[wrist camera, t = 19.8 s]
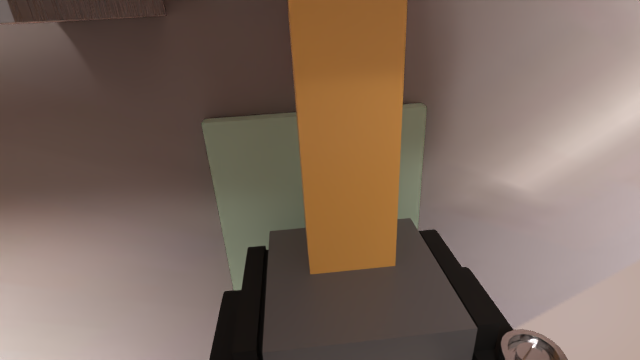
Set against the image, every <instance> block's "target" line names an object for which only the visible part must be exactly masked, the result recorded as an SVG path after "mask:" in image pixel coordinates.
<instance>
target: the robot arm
mask: <svg viewBox="0 0 640 360" xmlns="http://www.w3.org/2000/svg"><path fill="white" fill-rule="evenodd" d="M419 233H420V235H421V236H422V238H423V240H424V241H425V243H426V244H427V246H428V248H429V249H430V251H431V253H432V254H433V256H434V258H435V259H436V261H437V263H438V264H439V266H440V268H441V269H442V271H443V272H444V274H445V276H446V277H447V279H448V281H449V282H450V284H451V286H452V287H453V289H454V291H455V292H456V294H457V295H458V297H459V299H460V300H461V302H462V304H463V305H464V307H465V309H466V310H467V312H468V314H469V315H470V317H471V319H472V320H473V322H474V323H475V325H476V327H477V328H478V329H477V334H476V340H475V345H474V351H473V356H472V360H568V359H567V357H566V356H565V354H564V353H563V351H562V350H561V349H560V347H559V346H558V345H556V344H555V343H554V342H553V341H552V340H550V339H549V338H547V337H545V336H543V335H541V334H539V333H536V332H533V331H529V330H523V329H520V330H513V329H512V327H511V326H510V324H509V323H508V322H507V320H506V319H505V317H504V316H503V315H502V313H501V312H500V311H499V309H498V308H497V306H496V305H495V304H494V302H493V301H492V299H491V298H490V297H489V295H488V294H487V292H486V291H485V290H484V288H483V287H482V285H481V284H480V283H479V281H478V280H477V279H476V277H475V276H474V274H473V273H472V272H471V270H470V269H469V268H467V267H461V265H460V264H459V262H458V261H457V260H456V258H455V257H454V255H453V254H452V252H451V251H450V249H449V248H448V247H447V245H446V244H445V242H444V241H443V239H442V238H441V236H440V235H439V234H438V232H437V231H436V230H424V231H419ZM267 267H268V250H266V246H255V247H248V249H247V255H246V262H245V269H244V275H243V282H242V288H241V290H234V291H225V292H224V294H223V298H222V303H221V307H220V312H219V317H218V321H217V326H216V331H215V336H214V340H213V345H212V350H211V354H210V359H209V360H263V354H262V349H263V332H264V316H265V300H266V283H267Z"/></svg>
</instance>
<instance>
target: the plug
mask: <svg viewBox="0 0 640 360" xmlns="http://www.w3.org/2000/svg"><path fill="white" fill-rule="evenodd" d="M287 4H288V17H289V29H290V41H291V54H292V66H293V79H294V91H295V104H296V116H297V129H298V141H299V154H300V166H301V178H302V191H303V203H304V216H305V228H297V229H286V230H276V231H270V234H269V250H268V267H267V283H266V300H265V316H264V332H263V349H262V354H263V360H472V356H473V351H474V345H475V340H476V334H477V329H478V328H477V327H476V325H475V323H474V322H473V320H472V319H471V317H470V315H469V314H468V312H467V310H466V309H465V307H464V305H463V304H462V302H461V300H460V299H459V297H458V295H457V294H456V292H455V291H454V289H453V287H452V286H451V284H450V282H449V281H448V279H447V277H446V276H445V274H444V272H443V271H442V269H441V268H440V266H439V264H438V263H437V261H436V259H435V258H434V256H433V254H432V253H431V251H430V249H429V248H428V246H427V244H426V243H425V241H424V240H423V238H422V236H421V235H420V233H419V231H418V230H417V228H416V226H415V225H414V223H413V221H412V220H411V218H405V219H397V218H398V196H399V175H400V153H401V131H402V109H403V88H404V66H405V44H406V22H407V0H287Z"/></svg>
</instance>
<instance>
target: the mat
mask: <svg viewBox="0 0 640 360" xmlns="http://www.w3.org/2000/svg"><path fill="white" fill-rule="evenodd" d="M426 112H427V106H425V105H424V104H422V103H415V104H403V109H402V131H401V153H400V175H399V196H398V218H397V219H405V218H411V220H412V221H413V223H414V225H415V226H416V228H417V230H418V222H419V208H420V195H421V181H422V167H423V153H424V140H425V126H426ZM201 125H202V130H203V135H204V140H205V145H206V151H207V156H208V161H209V166H210V171H211V176H212V181H213V187H214V192H215V197H216V202H217V207H218V212H219V217H220V223H221V228H222V233H223V238H224V243H225V248H226V254H227V259H228V264H229V269H230V274H231V279H232V284H233V290H241V288H242V282H243V275H244V269H245V262H246V255H247V249H248V247H255V246H266V250H269V234H270V231H276V230H286V229H297V228H305V216H304V203H303V191H302V178H301V166H300V154H299V141H298V129H297V116H296V112H292V113H278V114H265V115H251V116H237V117H224V118H210V119H204V120H203V122H202V123H201Z"/></svg>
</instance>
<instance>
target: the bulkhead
mask: <svg viewBox="0 0 640 360" xmlns="http://www.w3.org/2000/svg"><path fill="white" fill-rule="evenodd" d="M153 16H167V15H166V11H165V6H164V1H163V0H0V25H5V24H25V23H46V22H65V21H82V20H100V19H118V18H135V17H153Z"/></svg>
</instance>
